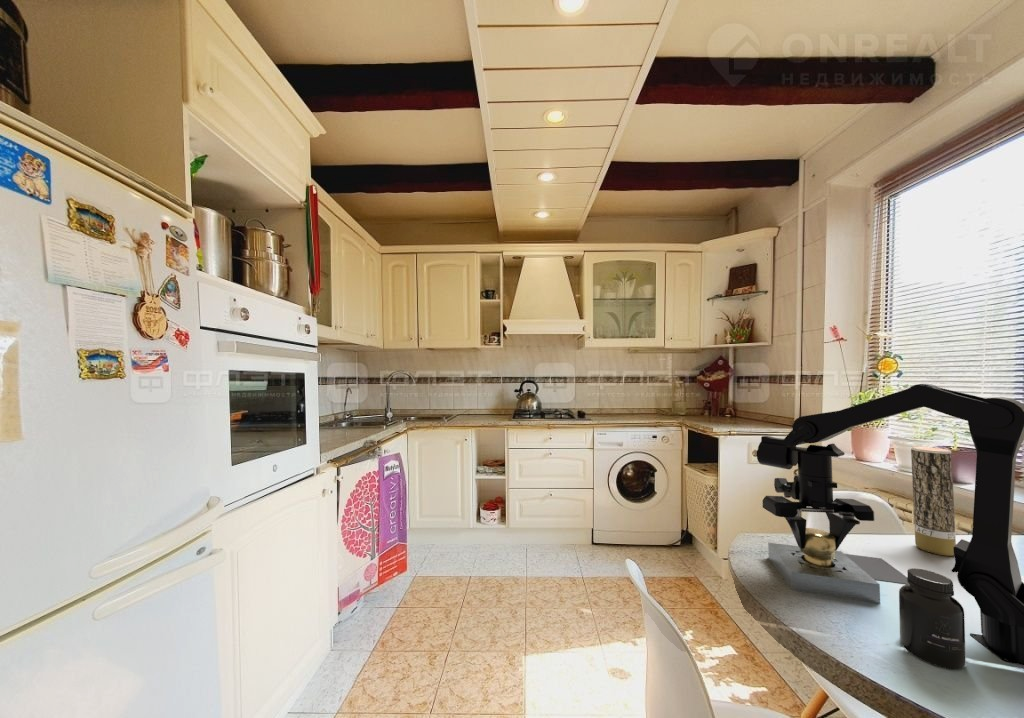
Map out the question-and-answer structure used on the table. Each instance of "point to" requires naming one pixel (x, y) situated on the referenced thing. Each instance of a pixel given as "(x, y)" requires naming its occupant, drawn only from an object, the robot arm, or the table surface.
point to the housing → (824, 575)
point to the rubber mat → (878, 569)
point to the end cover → (819, 548)
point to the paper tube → (933, 500)
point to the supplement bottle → (932, 620)
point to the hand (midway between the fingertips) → (817, 548)
